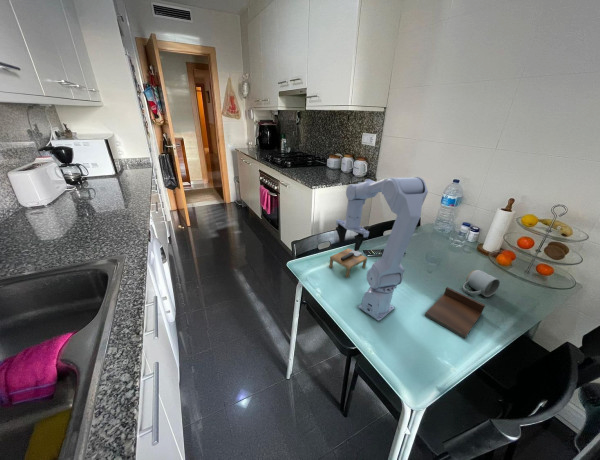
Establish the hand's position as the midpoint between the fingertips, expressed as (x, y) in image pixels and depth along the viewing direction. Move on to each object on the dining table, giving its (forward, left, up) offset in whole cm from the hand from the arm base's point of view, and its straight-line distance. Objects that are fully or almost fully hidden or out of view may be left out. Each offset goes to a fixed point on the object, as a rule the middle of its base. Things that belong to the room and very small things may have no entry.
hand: (349, 246), depth 101 cm
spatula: (+2, 0, -5) cm, 6 cm away
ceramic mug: (+28, -41, -11) cm, 51 cm away
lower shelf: (+7, -40, -10) cm, 42 cm away
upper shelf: (+1, 0, -10) cm, 10 cm away
